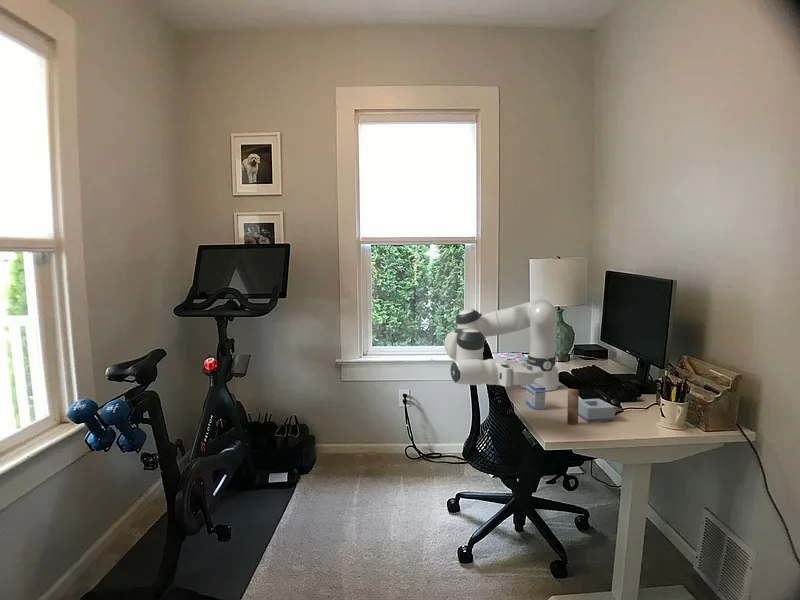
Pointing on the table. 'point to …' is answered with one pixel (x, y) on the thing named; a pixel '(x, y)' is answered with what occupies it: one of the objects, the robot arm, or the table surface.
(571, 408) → the dowel
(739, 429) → the table surface
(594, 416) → the socket block
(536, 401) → the medicine box
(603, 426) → the table surface
